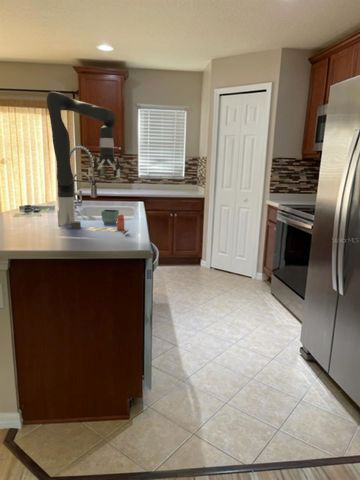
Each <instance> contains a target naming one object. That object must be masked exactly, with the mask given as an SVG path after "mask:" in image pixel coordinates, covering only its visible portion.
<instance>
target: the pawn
mask: <svg viewBox="0 0 360 480" xmlns="http://www.w3.org/2000/svg"><path fill="white" fill-rule="evenodd" d="M117 218H118V219H117V222H116V228H117V230H118V231H124V229H125V219H124V218H125V216H124V214H123V213H119V214H118V217H117ZM124 232H125V231H124Z"/></svg>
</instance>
